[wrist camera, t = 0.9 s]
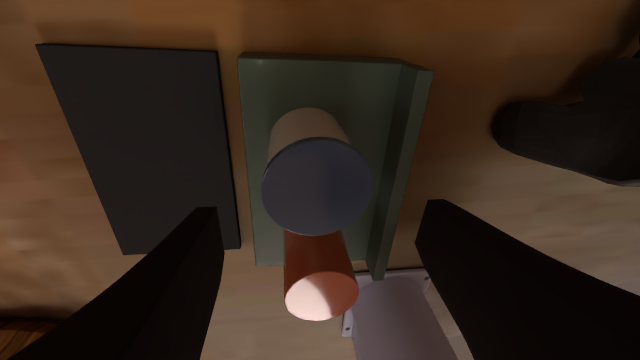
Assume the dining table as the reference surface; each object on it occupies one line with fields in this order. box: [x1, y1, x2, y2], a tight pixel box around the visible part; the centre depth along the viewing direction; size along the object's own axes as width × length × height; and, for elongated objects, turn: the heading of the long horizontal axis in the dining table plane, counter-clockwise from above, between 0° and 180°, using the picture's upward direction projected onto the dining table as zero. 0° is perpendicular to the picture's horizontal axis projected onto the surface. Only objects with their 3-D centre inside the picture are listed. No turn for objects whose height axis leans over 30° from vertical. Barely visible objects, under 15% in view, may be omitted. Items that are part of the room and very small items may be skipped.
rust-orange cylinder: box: [283, 229, 359, 321], centre depth 17 cm, size 4×4×5 cm
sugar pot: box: [261, 107, 373, 236], centre depth 14 cm, size 5×5×5 cm
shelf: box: [237, 52, 434, 281], centre depth 17 cm, size 14×9×4 cm, turn 177°
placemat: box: [35, 43, 241, 255], centre depth 18 cm, size 14×8×1 cm, turn 177°
